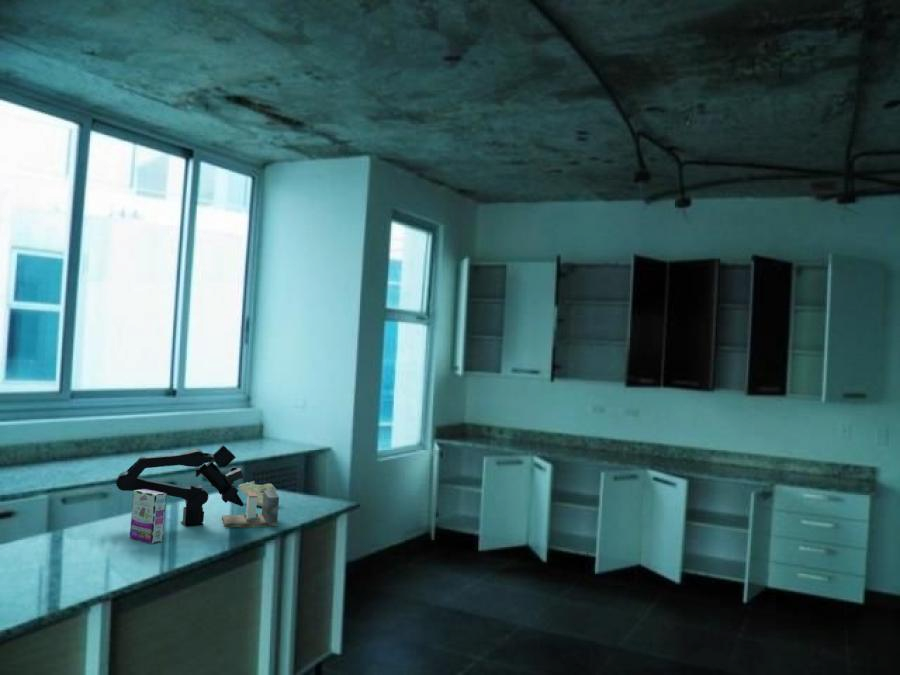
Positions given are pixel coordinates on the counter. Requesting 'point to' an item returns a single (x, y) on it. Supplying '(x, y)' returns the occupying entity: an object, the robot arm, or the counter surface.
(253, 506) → the pink-topped white block
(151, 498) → the candy bar box
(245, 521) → the wooden platform
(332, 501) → the counter surface
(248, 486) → the cheese
